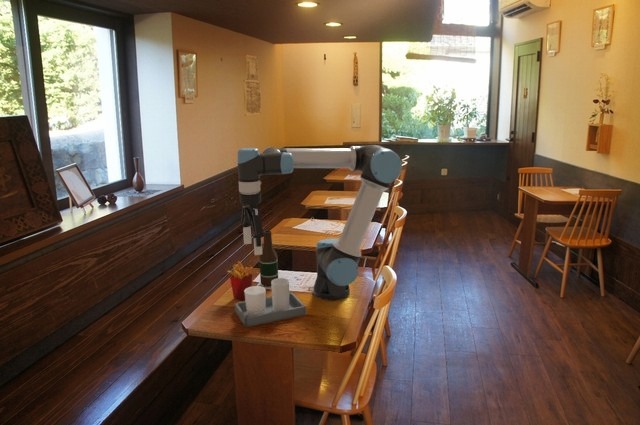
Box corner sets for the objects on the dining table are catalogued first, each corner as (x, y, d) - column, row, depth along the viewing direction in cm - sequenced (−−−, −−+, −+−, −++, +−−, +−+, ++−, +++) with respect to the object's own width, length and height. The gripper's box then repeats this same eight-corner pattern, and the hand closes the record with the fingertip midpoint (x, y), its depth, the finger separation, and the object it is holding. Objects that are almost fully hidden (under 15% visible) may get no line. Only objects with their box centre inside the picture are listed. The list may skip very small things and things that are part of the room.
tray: (292, 300, 211) (292, 292, 210) (306, 315, 198) (305, 306, 197) (235, 311, 202) (234, 303, 201) (245, 327, 189) (245, 318, 188)
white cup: (246, 310, 201) (245, 286, 198) (267, 309, 201) (265, 285, 199) (245, 319, 193) (243, 294, 191) (266, 318, 194) (265, 293, 191)
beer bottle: (260, 281, 231) (257, 229, 225) (277, 279, 232) (275, 227, 226) (261, 287, 224) (258, 234, 218) (279, 286, 225) (277, 233, 219)
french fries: (254, 296, 215) (252, 262, 211) (240, 304, 208) (238, 268, 204) (237, 292, 220) (235, 258, 216) (224, 299, 213) (221, 264, 209)
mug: (285, 315, 196) (284, 285, 193) (269, 312, 199) (268, 283, 196) (296, 304, 205) (295, 276, 202) (281, 302, 208) (279, 274, 205)
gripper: (271, 198, 176) (273, 257, 181) (250, 184, 198) (253, 238, 203) (249, 200, 173) (252, 261, 178) (230, 186, 195) (234, 240, 200)
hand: (253, 249), depth 191 cm, fingers open, 13 cm apart
